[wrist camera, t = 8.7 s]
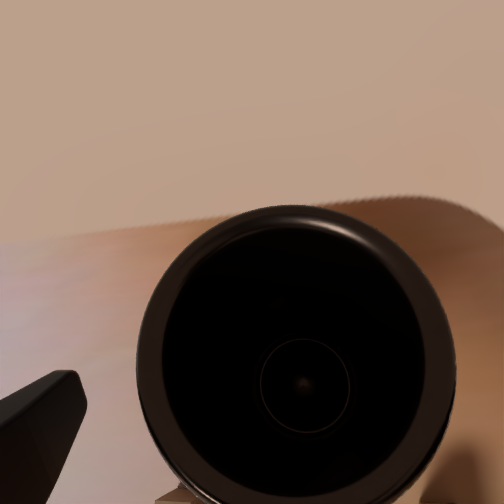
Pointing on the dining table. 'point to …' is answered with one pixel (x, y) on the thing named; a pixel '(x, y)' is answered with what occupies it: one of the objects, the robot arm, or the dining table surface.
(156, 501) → the tan u-shaped frame
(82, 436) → the dining table surface
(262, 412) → the planter
